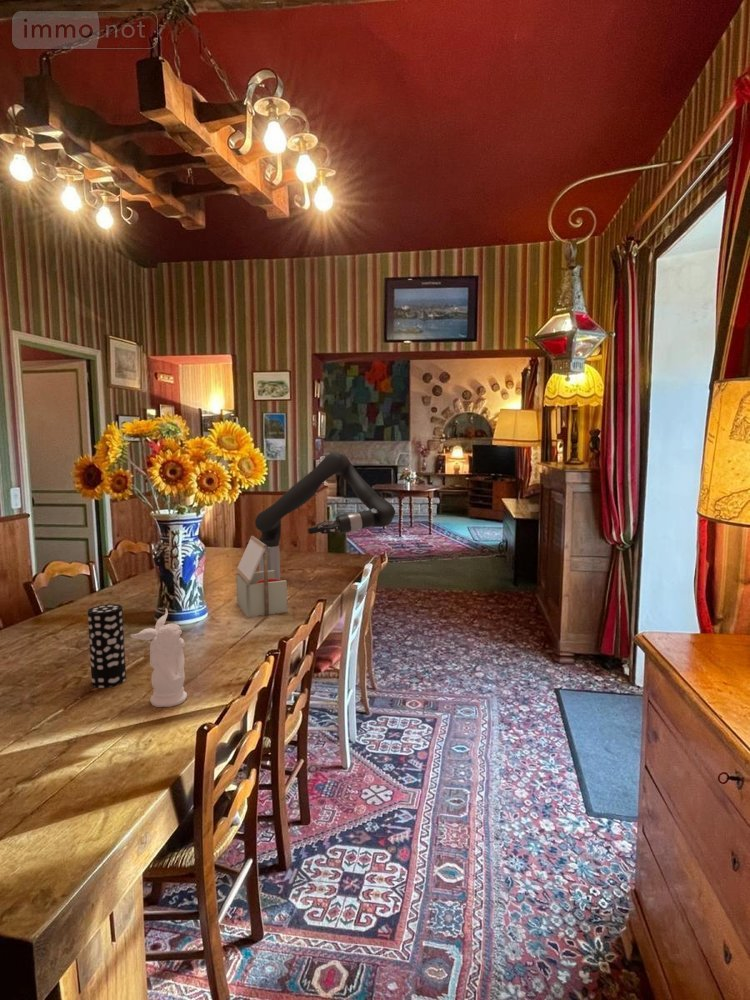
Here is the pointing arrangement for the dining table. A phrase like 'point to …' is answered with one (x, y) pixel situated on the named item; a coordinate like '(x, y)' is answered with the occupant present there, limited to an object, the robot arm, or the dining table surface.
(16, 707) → the dining table surface
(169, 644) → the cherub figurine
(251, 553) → the lid
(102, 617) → the white-spotted black cylinder
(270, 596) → the cold frame
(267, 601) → the prop stick
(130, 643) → the dining table surface
